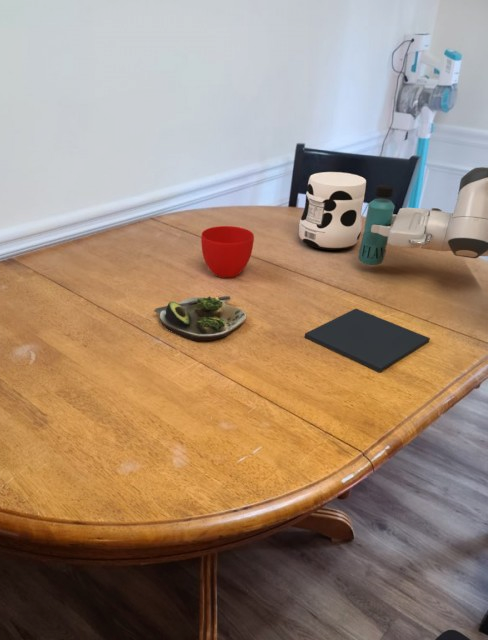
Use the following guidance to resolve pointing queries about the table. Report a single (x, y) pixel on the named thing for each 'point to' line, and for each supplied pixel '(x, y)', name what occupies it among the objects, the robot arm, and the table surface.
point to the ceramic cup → (226, 249)
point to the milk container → (332, 210)
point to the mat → (367, 339)
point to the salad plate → (201, 318)
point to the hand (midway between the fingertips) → (374, 222)
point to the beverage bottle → (378, 214)
